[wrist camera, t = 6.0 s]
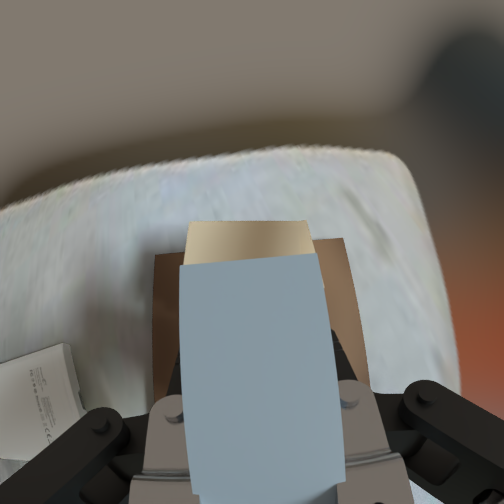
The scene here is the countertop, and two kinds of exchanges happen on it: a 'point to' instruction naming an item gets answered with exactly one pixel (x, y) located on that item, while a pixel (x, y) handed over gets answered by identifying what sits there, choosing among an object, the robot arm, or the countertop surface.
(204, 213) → the countertop surface
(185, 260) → the birch offcut stack
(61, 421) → the external hard drive
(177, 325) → the walnut stand
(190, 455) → the slate-blue block
